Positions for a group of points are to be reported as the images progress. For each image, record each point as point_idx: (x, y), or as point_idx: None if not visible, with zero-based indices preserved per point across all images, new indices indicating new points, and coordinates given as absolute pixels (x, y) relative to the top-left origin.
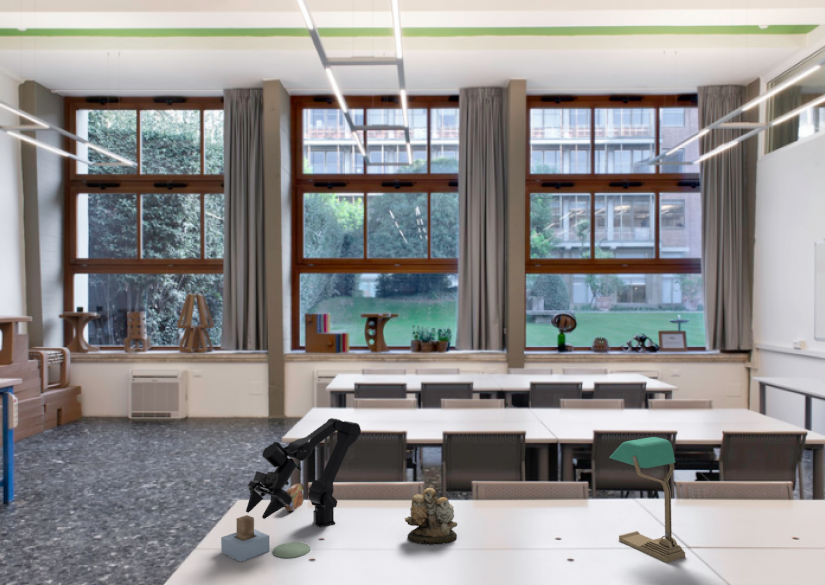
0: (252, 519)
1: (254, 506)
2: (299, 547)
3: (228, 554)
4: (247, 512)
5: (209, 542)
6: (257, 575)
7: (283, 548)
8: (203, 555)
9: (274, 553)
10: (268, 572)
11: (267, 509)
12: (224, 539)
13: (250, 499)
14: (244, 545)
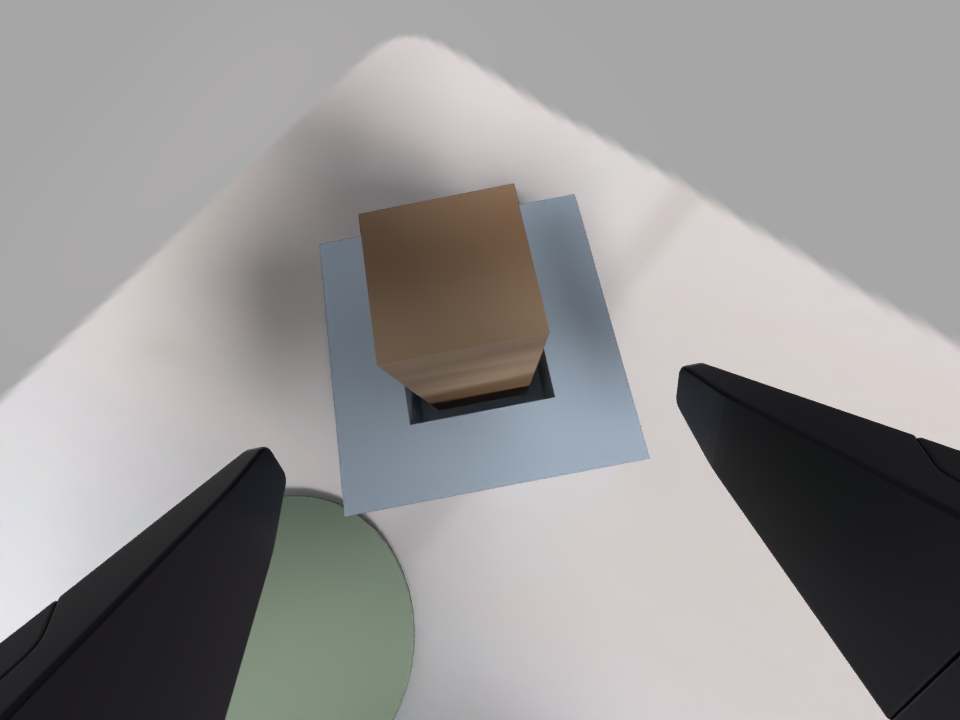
0: (377, 345)
1: (772, 542)
2: (261, 712)
3: None
4: (678, 390)
5: (766, 248)
6: (147, 301)
7: (331, 595)
8: (582, 170)
9: (303, 499)
10: (130, 361)
11: (113, 565)
12: (529, 206)
13: (941, 473)
14: (325, 279)
